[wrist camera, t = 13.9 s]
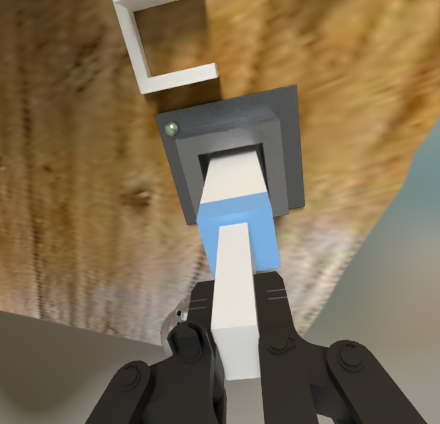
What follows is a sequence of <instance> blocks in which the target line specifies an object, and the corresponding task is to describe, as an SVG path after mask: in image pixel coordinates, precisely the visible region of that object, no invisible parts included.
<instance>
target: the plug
mask: <svg viewBox="0 0 440 424" xmlns="http://www.w3.org/2000/svg"><path fill="white" fill-rule="evenodd" d="M196 221H197V225H198V228H199V231H200V235H201V238H202V241H203V245H204V248H205V252H206V255H207V258H208V262H209V265H210V268H211V272H212V275H213V278H215V274H216V262H217V250H218V238H219V227H220V226H226V225H233V224H240V223H246V222H247V223H248V229H249V234H250V240H251V245H252V251H253V257H254V262H255V270H256V271H262V270H269V269H276V268H281V267H280V260H279V254H278V247H277V241H276V234H275V227H274V221H273V214H272V208H271V204H270V200H269V197H268V193H267V190H266V186H265V182H264V179H263V175H262V172H261V168H260V164H259V161H258V157H257V154H256V150H255V146H254V144H253V145H248V146H242V147H237V148H232V149H226V150H221V151H216V152H212V154H211V159H210V163H209V167H208V172H207V176H206V180H205V185H204V189H203V193H202V198H201V202H200V206H199V211H198V215H197V219H196Z"/></svg>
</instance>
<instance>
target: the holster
mask: <svg viewBox="0 0 440 424" xmlns="http://www.w3.org/2000/svg"><path fill="white" fill-rule="evenodd" d="M173 1H177V0H113V4H114V7H115V10H116V14H117V17H118V20H119V23H120V27H121V30H122V33H123V37H124V40H125V43H126V46H127V50H128V53H129V56H130V59H131V63H132V66H133V69H134V73H135V76H136V79H137V82H138V86H139V89H140V92H141V94H146V93H150V92H155V91H159V90H164V89H168V88H173V87H177V86H181V85H186V84H190V83H195V82H199V81H204V80H208V79H213V78H217V77H219V72H218V66H217V63H212V64H208V65H203V66H199V67H195V68H190V69H186V70H182V71H177V72H173V73H168V74H164V75H160V76H155V77H151V74H150V71H149V67H148V63H147V60H146V56H145V53H144V49H143V46H142V42H141V39H140V35H139V32H138V28H137V24H136V21H135V17H134V14H133V12H135V11H139V10H143V9H146V8H150V7H154V6H158V5H162V4H166V3H169V2H173Z"/></svg>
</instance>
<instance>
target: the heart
mask: <svg viewBox="0 0 440 424" xmlns="http://www.w3.org/2000/svg"><path fill="white" fill-rule="evenodd" d="M190 297H191V296H189V297H187V298H185V299H184V300H182V301H181V302H180V303H179V304H178V306H177V307H176V309H175V310H174V311H173V312H171V313H170V314H169V315H168V316H167V318H166V319H165V321H164V323H163V325H162V327H161V332H160V333H161V343H162V347H163V351H164V353H165V354H166V356H169V357H170V356H172V355H173V353H172V350H171V348H170V346H169V343H168V341H167V337H168V334H169V332H170V331H171V330H172V329H173V328H174V327H175V326H176V325H178V324H179V323H181V322H184V321H186V319H187V314H188V310H189V303H190Z"/></svg>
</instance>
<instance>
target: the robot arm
mask: <svg viewBox="0 0 440 424" xmlns="http://www.w3.org/2000/svg"><path fill="white" fill-rule="evenodd" d="M167 341H168V343H169V346H170V348H171V350H172V353H173V355H172V356H170V357H169V358H167V359H165V360H163V361H161V362H159V363H156V364H154V365H151V366H148V365H147V363H145V362H143V361H132V362H130V363H127V364H125V365H124V366H123V367H122V368H120V369H119V370H118V371H117V373H116V374H115V375H114V376H113V378H112V380H111V382H110V383H109V385H108V386H107V388H106V390H105V391H104V393H103V395H102V396H101V398H100V400H99V401H98V403H97V405H96V406H95V408H94V409H93V411H92V413H91V414H90V416H89V418H88V419H87V421H86V423H85V424H226V402H227V401H226V400H227V398H226V391H225V388H224V374H225V377H226V380H238V379H250V378H261V385H262V398H263V409H264V420H265V424H319V423H318V418H317V414H320V415H323V416H327V417H330V418H332V420H333V422H334V423H335V424H427V423H426V422H425V421H424V419H423V418H422V417H421V415H420V414H419V413H418V411H417V410H416V409H415V407H414V406H413V405H412V404H411V402H410V401H409V400H408V399H407V397H406V396H405V395H404V394H403V392H402V391H401V390H400V388H399V387H398V386H397V385H396V383H395V382H394V381H393V380H392V378H391V377H390V376H389V374H388V373H387V372H386V371H385V369H384V368H383V367H382V365H381V364H380V363H379V362H378V360H377V359H376V358H375V357H374V355H373V354H372V353H371V352H370V351H369V350H368V349H367V348H366V347H365V346H363V345H361V344H359V343H357V342H355V341H350V340H341V341H337V342H335V343H333V344H332V345H331V346H330V347H329V348H328V347H323V346H318V345H314V344H311V343H309V342H307V341H305V340H304V339H302V338H301V337H300V336H299V335H298V333H297V332H296V330H295V327H294V324H293V320H292V315H291V311H290V307H289V303H288V299H287V294H286V290H285V286H284V282H283V278H282V277H281V276H280V275H279V274H278V273H277V272H268V273H260V274H256V270H255V262H254V257H253V251H252V245H251V240H250V234H249V229H248V223H247V222H246V223H240V224H233V225H226V226H220V227H219V238H218V250H217V262H216V274H215V280H211V281H204V282H197V284H196V285H195V287H194V288H193V290H192V292H191V297H190V303H189V310H188V314H187V319H186V321H184V322H181V323H179V324H178V325H176V326H175V327H174V328H173V329H172V330H171V331H170V332H169V334H168V337H167Z"/></svg>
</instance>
